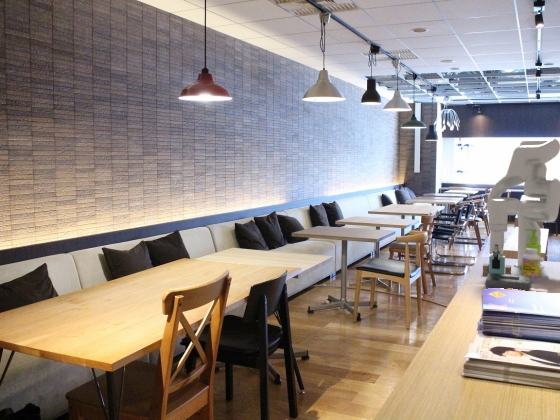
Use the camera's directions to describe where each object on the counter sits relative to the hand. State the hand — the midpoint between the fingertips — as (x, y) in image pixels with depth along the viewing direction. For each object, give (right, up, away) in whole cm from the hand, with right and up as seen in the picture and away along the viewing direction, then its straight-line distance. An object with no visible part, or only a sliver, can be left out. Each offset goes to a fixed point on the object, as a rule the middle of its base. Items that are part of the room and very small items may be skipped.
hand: (496, 266), depth 235 cm
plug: (0, -3, 0) cm, 3 cm away
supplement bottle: (+13, -5, -4) cm, 14 cm away
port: (-1, -6, -15) cm, 17 cm away
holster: (0, -4, 0) cm, 4 cm away
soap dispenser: (+17, -4, +5) cm, 18 cm away
